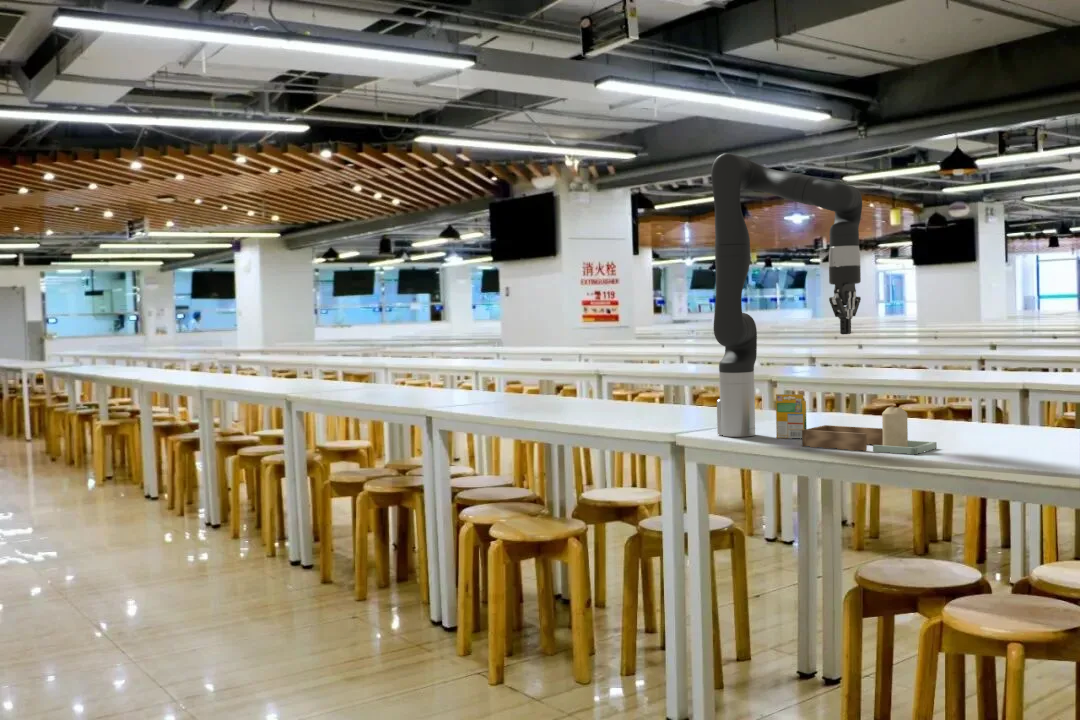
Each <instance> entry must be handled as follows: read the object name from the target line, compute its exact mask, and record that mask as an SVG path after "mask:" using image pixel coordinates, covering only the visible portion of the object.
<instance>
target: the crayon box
mask: <svg viewBox="0 0 1080 720" xmlns="http://www.w3.org/2000/svg"><path fill="white" fill-rule="evenodd" d="M788 397H791V398H793V399H788ZM785 398H787V399H785ZM794 398H795V399H794ZM806 403H807V402H806V400H804V394H798V393H797V394H796V393H795V394H794V393H793V394H792V393H791V394H790V393H789V394H786V393H785V394H783V393H782V394H780V393H779V394H777V393H776V394H775V420H776V421H775V422H776V429H775V430H776V439H792V438H800V440H802V439H801V438H802V430H805V429H808V428H807V404H806Z"/></svg>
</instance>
